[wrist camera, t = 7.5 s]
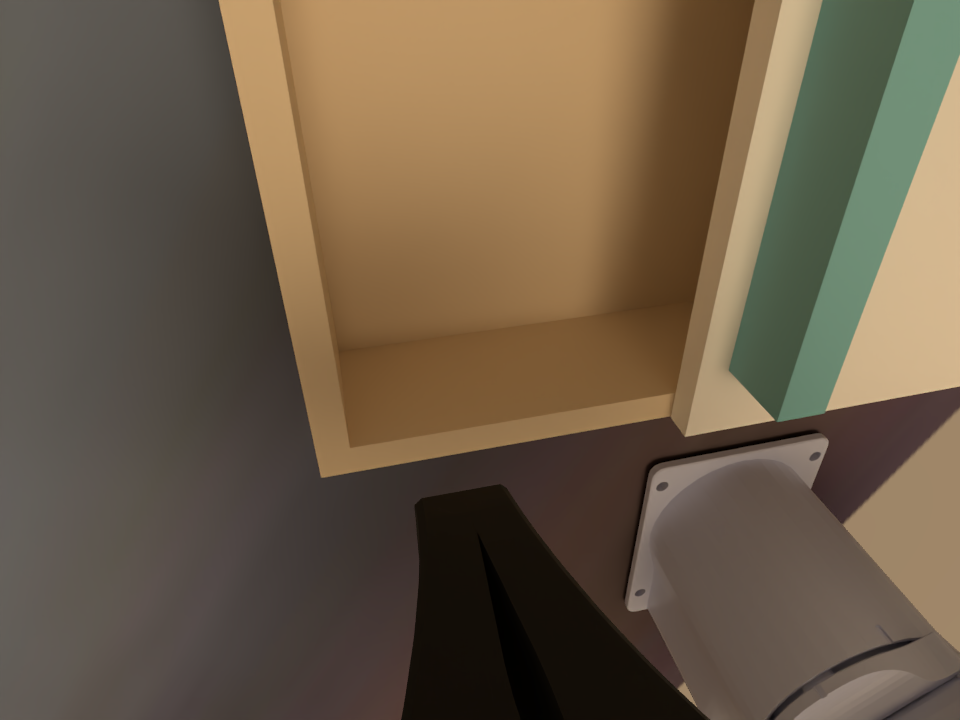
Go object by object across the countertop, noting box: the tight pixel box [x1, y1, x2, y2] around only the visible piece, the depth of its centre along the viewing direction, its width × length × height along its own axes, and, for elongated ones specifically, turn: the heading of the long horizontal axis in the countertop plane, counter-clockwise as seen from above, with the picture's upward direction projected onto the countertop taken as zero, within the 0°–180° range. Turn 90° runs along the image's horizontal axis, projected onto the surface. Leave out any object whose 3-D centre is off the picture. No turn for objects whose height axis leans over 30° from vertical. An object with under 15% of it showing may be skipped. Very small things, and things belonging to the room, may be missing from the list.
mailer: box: [219, 0, 755, 478], centre depth 16 cm, size 14×20×5 cm
